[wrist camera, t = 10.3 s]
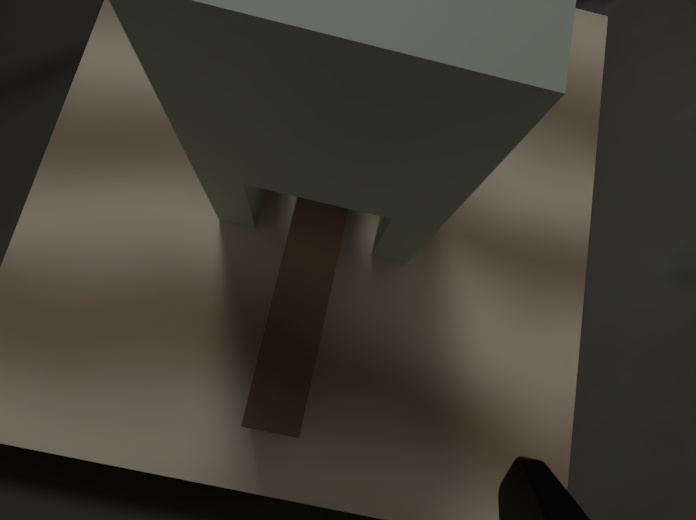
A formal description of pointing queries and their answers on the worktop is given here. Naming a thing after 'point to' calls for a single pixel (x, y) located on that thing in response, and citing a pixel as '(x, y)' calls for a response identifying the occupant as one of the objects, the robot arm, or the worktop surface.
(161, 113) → the cleat board
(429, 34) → the grey-green notched block
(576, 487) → the worktop surface
